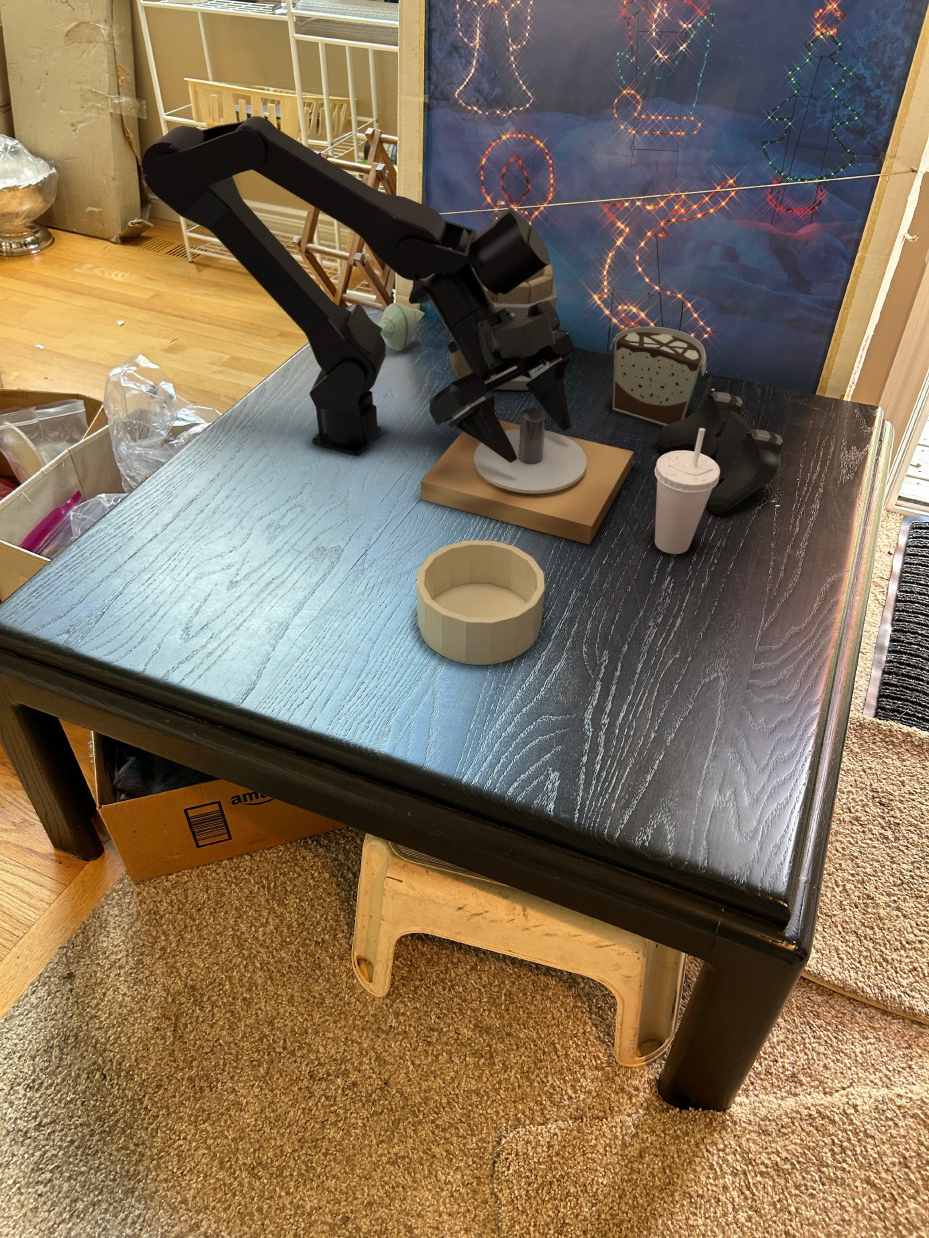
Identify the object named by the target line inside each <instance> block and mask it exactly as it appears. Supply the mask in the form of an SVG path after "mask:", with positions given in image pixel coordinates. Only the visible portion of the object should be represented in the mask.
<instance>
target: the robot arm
mask: <svg viewBox="0 0 929 1238" xmlns="http://www.w3.org/2000/svg"><path fill="white" fill-rule="evenodd" d="M141 168H142V179H143V181H144V184H145V185H146V187H147V189H149V191H150V192H151V193H152V194H153V195H154V196H155V197H156V198H157V199H158V200H160V201H161V202H162V203H163V204H165V205H166V206H167V207H168V208H170V209H171V210H172V211H173V212H175V213H176V214H177V215H178V216H179V217H181V218H183V219H185V220H188V221H190V222H192V223H193V224H196V225H198V226H199V227H202V228H204V229H206V230H207V231H209V232H210V233H211V234H212V235H213V236H214V237H215V238H216V239H217V240H218V241H219V242H220V243H221V245H223V247H224V248H225V249H226V250H227V252H229V253H230V254H231V255H232V256H233V257H234V258H235V260H236V261H237V262H238V263H239V264H240V265H241V266H242V267H243V268H244V270H246V272H247V273H248V274H249V275H250V276H251V277H252V278H253V279H254V280H255V281H256V282H257V284H259V285H260V287H261V288H262V289H263V290H264V291H265V292H266V293H267V294H268V295H269V296H270V298H272V300H273V301H274V302H275V303H276V304H277V305H278V306H279V307H280V308H281V309H282V311H283V312H285V314H286V315H287V316H288V317H289V318H290V320H292V321H293V322H294V324H295V325H297V327H298V328H299V330H301V331H302V332H303V333H304V335H305V337H306V339H307V341H308V343H309V346H310V349H311V352H312V354H313V356H314V358H315V361H316V363H317V365H318V366H319V368H320V370H319V373H318V375H317V377H316V379H315V381H314V383H313V385H312V387H311V389H310V391H309V397H310V398H311V401H312V403H313V404H314V407H315V413H316V423H317V430H318V432H317V434H315V436H314V437H312V438H311V443H312V445H314V446H318V447H322V448H327V449H329V450H330V449H331V450H334V451H337V452H341V453H346V454H350V455H352V456H353V455H354V456H358V455H360V454H362V452H364V450H365V449H366V448H367V447H368V446H369V445H370V443H372V441H373V440H374V439H376V438H377V437H378V436H379V434H380V433H381V432H382V427H381V426H379V425H378V412H377V405H376V404H374V398H373V391H372V390H371V389H372V388H373V387H374V386H375V384H376V381H377V379H378V377H379V374H380V371H381V369H382V367H383V364H384V361H385V358H386V355H387V344H386V341H385V338H384V337H383V336H382V335H381V332H382V328H381V327H380V326H378V325H377V323H375V322H374V321H373V320H372V319H371V317H369V315H368V313H367V312H366V310H365V309H364V307H363V306H361V304H359V303H357V304H356V305H355V306H354V307H353V308H352V309H351V310H349V309H347V308H345V307H343V306H341V305H338V304H337V303H335V301H333V300H332V299H331V298H330V297H329V295H328V294H327V293H326V292H325V291H324V290H323V289H322V287H321V286H320V285H319V284H318V283H317V282H316V281H315V280H314V278H312V277H311V275H310V274H309V273H308V272H307V270H305V268H304V267H303V266H302V265H301V264H300V263H299V261H298V260H297V259H296V258H295V257H294V256H293V255H292V254H291V253H290V251H289V250H288V249H287V248H286V246H284V245H283V244H282V243H281V241H280V240H279V239H278V238H277V237H276V236H275V234H274V233H273V232H272V231H271V230H270V228H269V227H267V225H266V224H265V223H264V222H263V221H262V220H261V218H260V217H259V216H258V215H257V214H256V213H255V212H254V211H253V210H252V209H251V208H250V207H249V206H248V204H247V203H246V202H245V201H244V199H243V198H242V195H241V194H240V192H239V189H238V187H237V185H236V181H235V179H234V176H237V175H238V174H242V173H246V172H249V171H254V172H256V173H258V174H259V175H260V176H261V177H264V178H265V179H267V180H269V181H271V182H272V183H274V184H276V185H277V186H279V187H280V188H282V189H284V190H286V191H287V192H289V193H290V194H292V195H293V196H296V197H297V198H298V199H300V200H302V201H303V202H305V203H307V204H309V205H310V206H311V207H314V208H315V209H317V210H319V212H321V213H323V214H325V215H327V216H328V217H330V218H331V219H333V220H335V221H336V222H338V223H340V224H341V225H343V226H345V227H347V228H348V229H350V230H351V231H352V232H353V233H355V234H356V235H358V237H360V239H362V240H363V242H364V243H365V244H366V246H367V247H368V248H369V250H370V251H371V252H372V254H373V255H375V257H376V258H378V259H379V261H381V262H382V263H384V264H385V265H386V266H387V267H388V268H389V269H391V270H392V272H393V273H396V275H398V276H400V277H401V278H403V279H404V280H408V281H412V287H411V291H410V293H409V297H408V303H409V304H411V305H417V304H419V305H420V304H425V303H427V302H428V301H430V303H431V304H432V306H433V308H434V310H435V312H436V314H437V315H438V317H439V319H440V320H441V321H442V324H443V326H444V328H445V329H446V331H447V333H448V335H449V336H450V339H451V340H453V341H452V342H451V341H450V342H449V343H448V344H447V345H446V346H447V349H448V351H449V353H450V352H451V354H452V353H454V352H457V351H459V352H460V354H461V356H462V358H463V359H464V361H465V363H466V365H467V367H468V368H469V370H470V372H471V374H469V375H467V376H465V377H463V378H461V379H459V378H458V379H457V380H455V381H453V382H450V383H449V384H448V385H447V386H445V387H444V388H442V389H441V390H440V391H439V392H438V393H437V394H435V395H434V396H432V397H431V398H430V399H429V414H430V416H431V417H432V419H433V421H434V423H435V425H436V426H437V427H439V426H441V425H442V424H444V423H446V422H448V421H450V420H452V419H453V420H452V421H450V422H449V423H448V424H447V427H448V428H449V429H453V428H457V429H458V430H460V431H461V432H465V433H467V434H469V435H470V436H472V437H474V438H475V439H477V440H478V441H480V442H481V443H483V444H484V445H486V446H487V447H488V448H490V449H491V450H493V451H494V452H495V453H497V454H498V455H500V456H501V457H502V458H504V459H505V460H507V461H508V462H510V463H512V462H514V461H515V460H517V456H516V453H515V451H514V449H513V446H512V444H511V442H510V441H509V439H508V437H507V435H506V433H505V431H504V430H503V428H502V426H501V424H500V422H499V420H500V419H499V417H497V414H496V407H495V406H496V405H495V404H496V403H495V395H494V394H493V395H492V396H489V397H488V398H486V397H485V396H486V394H488V393H490V392H492V391H495V390H494V389H496V388H498V387H500V386H502V385H504V384H506V383H508V382H510V381H512V380H514V379H516V378H517V377H519V376H521V375H523V376H525V377H527V378H532V380H531V381H530V382H528V383H527V384H526V386H527V387H528V389H529V390H528V391H530V393H531V394H532V396H533V397H534V398H535V399H536V400H537V402H538V403H539V404H540V406H541V407H542V408H543V410H544V411H545V413H547V414H548V416H550V418H551V419H552V421H553V422H554V423H555V424H556V425H557V427H559V428H560V430H561V431H562V432H566V431H568V430H569V429H571V427H572V426H571V420H570V413H569V409H568V402H567V396H566V391H565V374H566V369H567V366H568V364H569V363H570V362H572V355H570V354H571V353H573V352H574V351H575V350H577V348H576V345H575V344H574V343H573V341H572V339H571V336H570V335H569V333H567V332H564V331H562V330H559V329H560V326H561V320H560V318H559V315H558V312H557V310H556V308H555V309H554V308H553V306H552V305H551V303H550V302H549V300H547V301H542V302H539V303H536V304H534V305H532V306H530V307H529V309H528V316H525V317H522V318H520V319H516V320H514V319H513V318H512V316H511V315H510V313H509V312H508V311H506V310H505V309H502V310H500V311H498V312H497V310H496V308H495V306H494V305H493V303H492V301H491V299H490V298H489V296H488V294H487V292H486V290H485V288H486V289H488V290H489V291H490V292H493V293H494V294H495V295H497V294H499V293H502V294H507V293H509V292H510V291H512V290H513V289H514V288H516V287H517V286H519V285H520V284H522V283H523V282H524V281H526V280H527V279H529V278H530V277H532V276H533V275H534V274H536V273H537V272H539V271H540V270H542V269H543V268H544V267H546V266H547V265H549V264H551V258H550V255H549V251H548V249H547V246H546V245H545V242H544V241H543V239H542V236H541V235H540V233H539V232H538V230H537V228H535V226H534V225H533V224H532V225H531V224H530V223H529V222H528V221H527V220H526V219H525V218H524V217H523V216H522V215H519V214H518V212H517V211H516V210H515V209H514V207H513V206H509V207H508V208H506V209H504V211H502V212H501V213H500V215H498V217H497V218H496V219H495V220H494V221H492V222H491V223H490V224H488V226H486V227H485V228H483V229H482V230H481V231H479V232H478V231H477V230H476V229H474V228H470V227H469V226H464V225H461V224H458V223H455V222H453V221H450V220H446V219H444V217H443V216H442V215H441V213H439V212H438V211H437V210H436V209H434V208H432V207H430V206H427V205H426V204H423V203H420V202H418V201H415V200H413V199H410V198H408V197H405V196H402V195H397V194H392V193H386V192H383V191H381V190H378V189H376V188H373V187H371V186H370V185H368V184H367V183H366V182H363V180H360V179H359V178H357V177H356V176H354V175H352V174H351V173H350V172H348V171H346V170H344V169H343V168H341V167H340V166H338V165H336V164H335V163H333V162H332V161H330V160H328V159H327V158H325V157H324V156H322V155H320V153H317V152H315V151H314V150H312V149H311V148H309V147H308V146H306V145H304V144H303V143H302V142H300V141H298V140H297V139H295V138H294V137H292V136H290V135H288V134H287V133H286V132H284V131H283V130H280V129H279V128H277V127H276V126H275V124H273V123H272V122H271V121H270V119H267V118H266V117H263V116H259V115H253V116H250V117H248V118H246V119H245V120H242V121H241V120H240V121H237V122H231V123H224V124H223V123H222V124H219V125H215V126H211V127H208V128H204V129H200V128H198V127H196V126H187V125H180V126H175V127H174V128H172V129H171V130H170V131H168V132H167V133H165V134H164V135H163V136H161V138H159V139H158V140H156V141H155V142H154V143H153V144H152V145H150V146H149V147H147V149H146V151H145V152H144V154H143V156H142V162H141ZM482 284H483V285H484V286H485V288H484V287H483V285H482ZM554 331H555V333H553V332H554ZM568 355H569V356H568ZM509 368H510V369H509ZM507 369H508V370H507ZM495 374H496V376H494V377H492V378H491V376H493V375H495Z"/></svg>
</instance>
